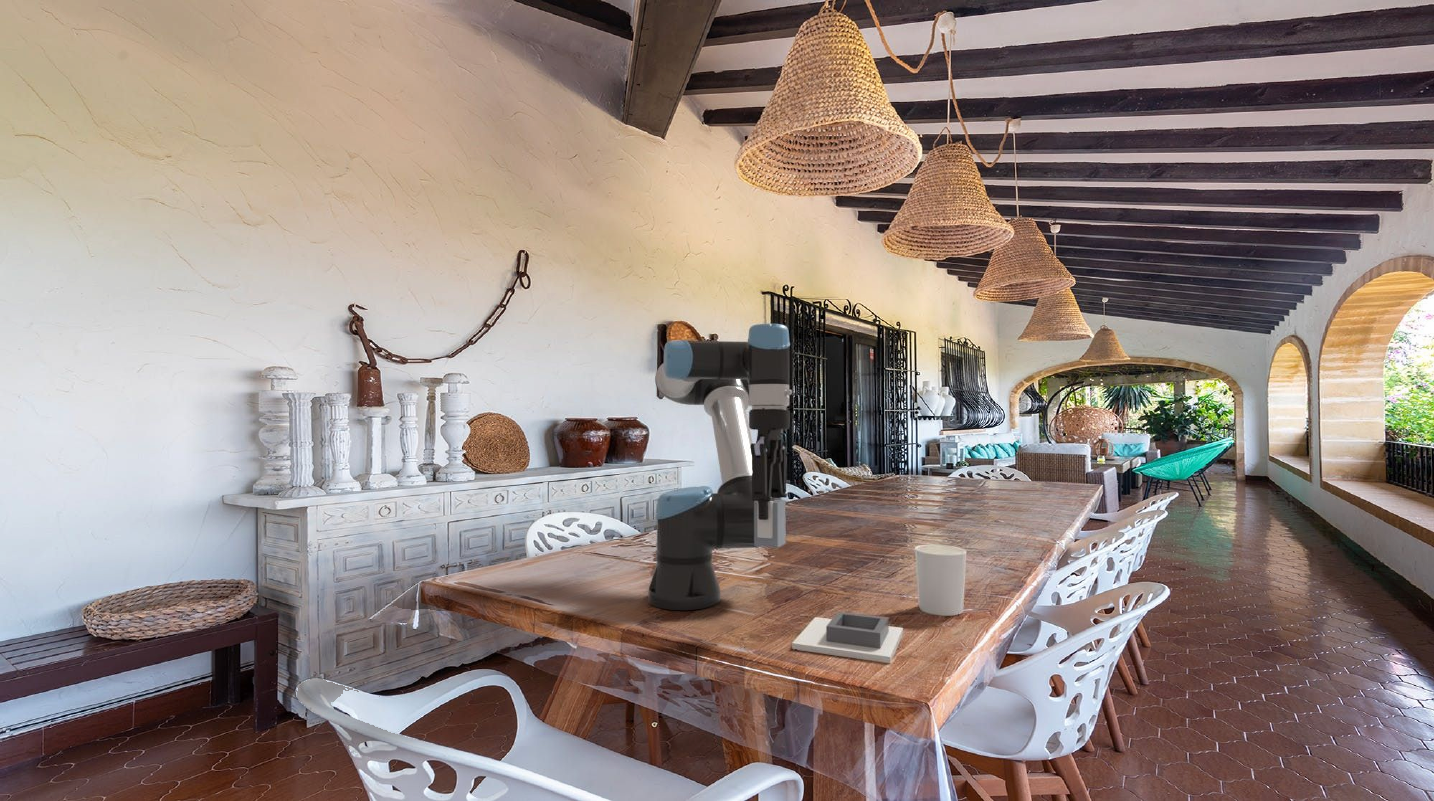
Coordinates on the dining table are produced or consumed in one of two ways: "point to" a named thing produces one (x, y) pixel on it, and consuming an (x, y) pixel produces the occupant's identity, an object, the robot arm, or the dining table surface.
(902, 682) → the dining table surface
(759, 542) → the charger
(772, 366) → the robot arm
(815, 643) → the charging dock
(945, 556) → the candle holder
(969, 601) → the dining table surface
